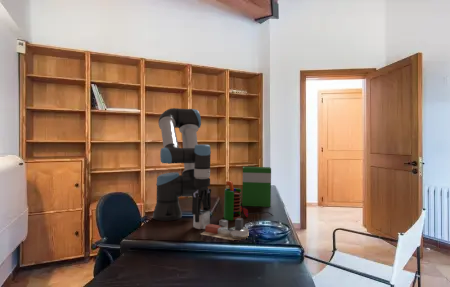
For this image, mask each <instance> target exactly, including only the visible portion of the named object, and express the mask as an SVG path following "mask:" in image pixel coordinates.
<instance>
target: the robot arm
mask: <svg viewBox="0 0 450 287" xmlns="http://www.w3.org/2000/svg"><path fill="white" fill-rule="evenodd" d="M158 127H159V129H160V132H161V138H162V140H161V141H162V146H163V147H162V148H160V154H159V157H160V158H159V160H160V163H162V164H169V165H170V164H183V167H184V168H183V171H182V172H181V174H180V173H179V172H177V171H176V172H165V173H162V174H159V175H158V176H157V177H156V202H155V206H154V209H153V213H152V219H154V220H156V221H162V222H168V221H175V220H180V219H181V218H182V216H183V212H182V210H181V209H182V208H181V205H180V203H179V202H180V198H185V197H186V198H187V197H189V198H190V197H192V202H191V203H192V204H191V205H192V207H191V214H192V215H193V214H194V215H195V228H194V229H198V230H201V215H200V211H201V210H206V211H210V212H211V208H212V202H211V201H212V199H211V195H212V188H209V187H210V186H211V178H210V177H211V153H212V151H211V145H210V144H198V135H197V132H198V131H199V129H200V128H201V127H202V118H201V113H200V111H199V110H198V109H194V108H178V107H177V108H176V107H173V108H172V107H171V108H168V109H167V110H165V111H163V112H162V113H161V114H160V116H159V118H158ZM176 129H178V131H179V133H181V139H182V147H180V146H179V142H178V137H177V132H176ZM202 208H203V209H202Z"/></svg>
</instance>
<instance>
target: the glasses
mask: <svg viewBox="0 0 450 287" xmlns="http://www.w3.org/2000/svg"><path fill="white" fill-rule="evenodd" d="M249 208H253V206H242V205H241V210H240V214H241V213H243V215H245V217H246V218H248V217H249V215H253V214H255V215H257V214H258V212H251V213H249V210H248V209H249ZM256 208H257V209H259V210H260V211H262V209H261V208H260V206H256ZM260 214H269V215H271V216H274V215H273V213H271V212H268V211H263V212H260Z"/></svg>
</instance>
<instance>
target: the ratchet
mask: <svg viewBox="0 0 450 287" xmlns="http://www.w3.org/2000/svg"><path fill="white" fill-rule="evenodd" d="M234 224H235V225H234V226H232V227H228V228H225V227H221V226H220V225H219V224H213V223H210V224H208V225H206V226H205V229H204V230H205V231H204V232H209V233H214V234H221V235H227V236H230V237H231V238H233V239H238V240H241V239H246V238H248V236H249V232H250V231H249V230H250V229H249V228H248V227H245V226H244V218H243V217H241V218H237V219H235V220H234Z"/></svg>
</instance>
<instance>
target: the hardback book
mask: <svg viewBox="0 0 450 287" xmlns="http://www.w3.org/2000/svg"><path fill="white" fill-rule="evenodd" d="M271 188H272V168H271V167H270V166H267V167H266V166H242V189H241V206H243V207H268V208H271V204H272V203H271V202H272V201H271V200H272V199H271V196H272V189H271Z"/></svg>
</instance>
